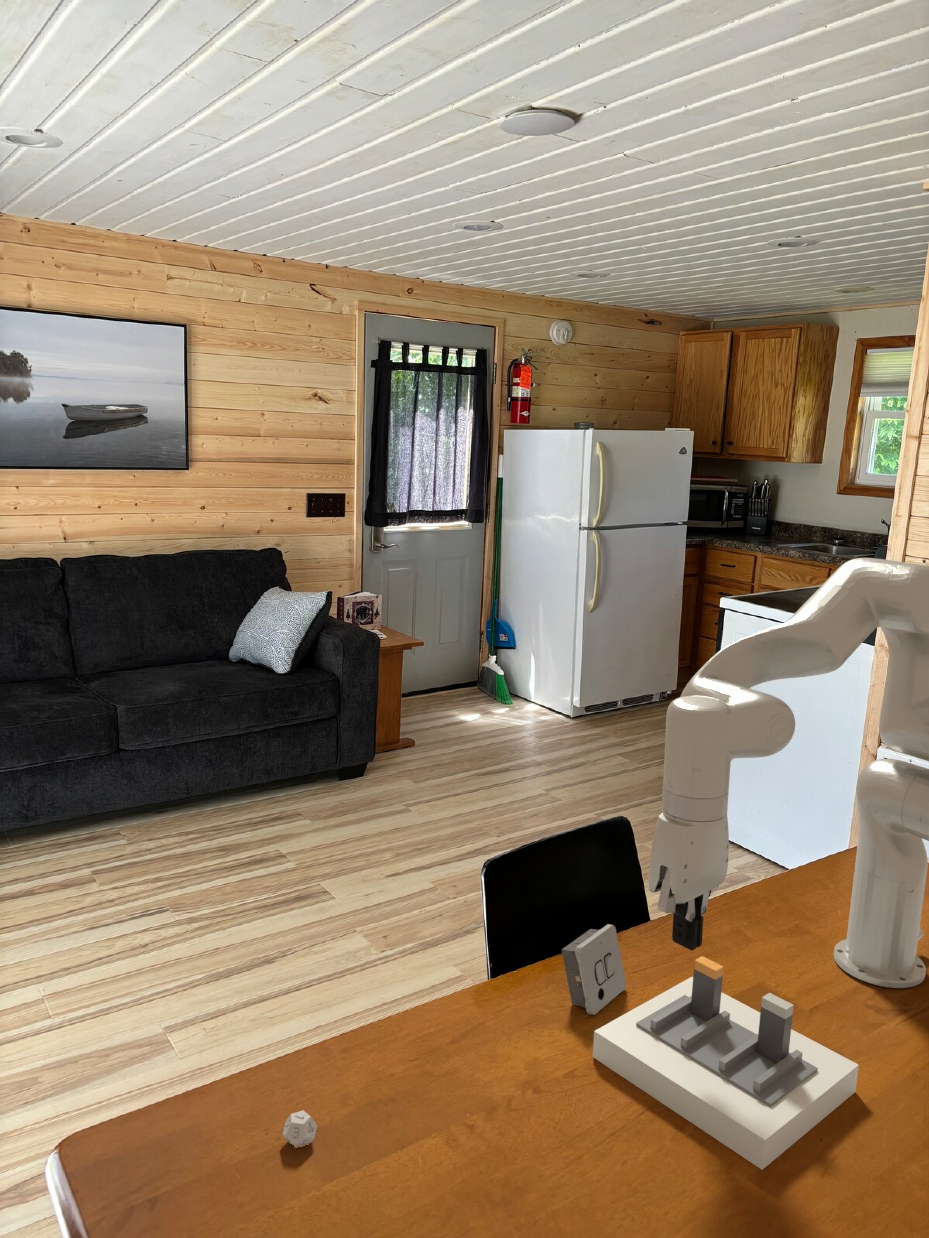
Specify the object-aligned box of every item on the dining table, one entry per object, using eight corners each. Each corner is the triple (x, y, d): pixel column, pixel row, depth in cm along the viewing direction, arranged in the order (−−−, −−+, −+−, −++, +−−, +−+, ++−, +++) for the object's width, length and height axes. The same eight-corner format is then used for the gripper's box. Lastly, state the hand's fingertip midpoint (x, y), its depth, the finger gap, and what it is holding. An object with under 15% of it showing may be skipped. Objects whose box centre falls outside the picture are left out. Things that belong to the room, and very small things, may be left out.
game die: (295, 1125, 106) (295, 1101, 106) (323, 1137, 105) (323, 1112, 104) (276, 1146, 103) (275, 1121, 103) (304, 1158, 102) (304, 1133, 101)
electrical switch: (592, 1018, 128) (590, 952, 127) (559, 1007, 131) (557, 942, 130) (627, 989, 135) (626, 926, 134) (595, 979, 138) (594, 917, 137)
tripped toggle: (697, 1006, 124) (702, 955, 123) (718, 1018, 122) (723, 966, 120) (690, 1011, 123) (694, 959, 122) (711, 1023, 120) (716, 970, 119)
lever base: (689, 1000, 133) (696, 924, 131) (855, 1091, 115) (865, 1005, 113) (592, 1056, 120) (597, 973, 118) (762, 1169, 102) (772, 1074, 100)
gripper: (706, 777, 120) (698, 912, 124) (628, 808, 111) (622, 952, 115) (758, 795, 115) (748, 935, 119) (681, 829, 105) (673, 980, 109)
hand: (686, 943), depth 117 cm, fingers closed
